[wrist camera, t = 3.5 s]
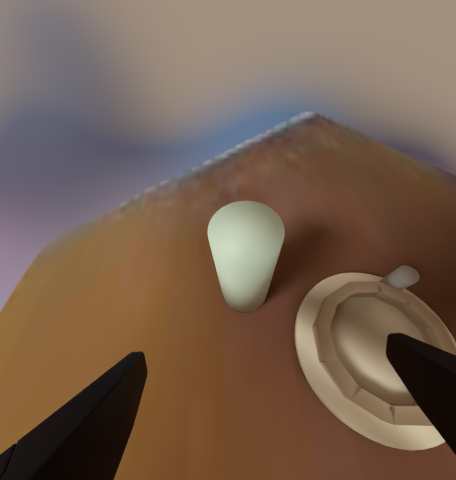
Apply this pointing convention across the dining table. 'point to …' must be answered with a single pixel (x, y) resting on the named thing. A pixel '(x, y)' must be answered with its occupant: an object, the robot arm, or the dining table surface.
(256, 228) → the post
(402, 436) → the flange plate
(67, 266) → the dining table surface
